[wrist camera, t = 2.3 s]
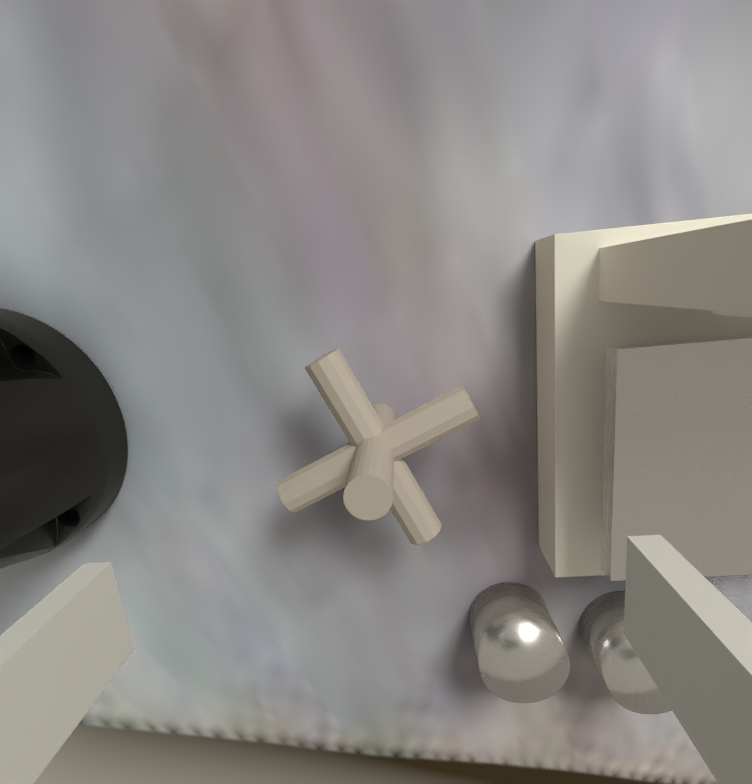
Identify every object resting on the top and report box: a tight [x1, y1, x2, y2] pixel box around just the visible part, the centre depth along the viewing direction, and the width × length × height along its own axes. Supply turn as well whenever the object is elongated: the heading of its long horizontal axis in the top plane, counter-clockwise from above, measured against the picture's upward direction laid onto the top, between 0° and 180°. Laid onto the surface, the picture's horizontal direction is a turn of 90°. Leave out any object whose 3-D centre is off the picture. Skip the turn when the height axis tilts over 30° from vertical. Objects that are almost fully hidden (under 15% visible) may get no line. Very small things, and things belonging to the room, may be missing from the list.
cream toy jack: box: [277, 348, 480, 545], centre depth 21 cm, size 10×10×10 cm
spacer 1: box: [469, 582, 570, 703], centre depth 27 cm, size 5×5×4 cm
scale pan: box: [601, 334, 752, 581], centre depth 19 cm, size 11×11×1 cm
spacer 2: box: [579, 591, 672, 714], centre depth 26 cm, size 5×5×4 cm
